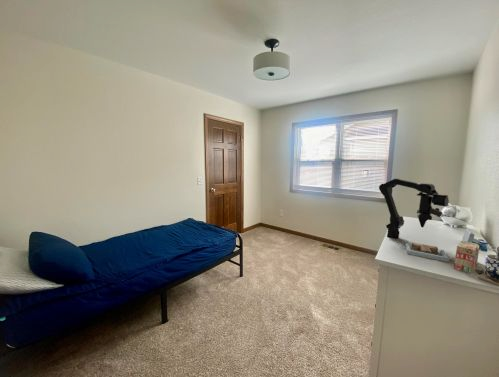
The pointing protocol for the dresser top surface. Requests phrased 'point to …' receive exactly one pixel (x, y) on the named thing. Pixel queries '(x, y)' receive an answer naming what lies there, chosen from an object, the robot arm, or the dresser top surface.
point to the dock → (442, 252)
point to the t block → (425, 248)
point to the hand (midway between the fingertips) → (422, 227)
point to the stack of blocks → (466, 256)
